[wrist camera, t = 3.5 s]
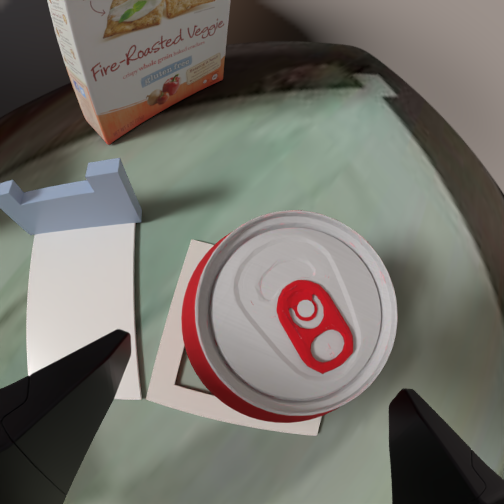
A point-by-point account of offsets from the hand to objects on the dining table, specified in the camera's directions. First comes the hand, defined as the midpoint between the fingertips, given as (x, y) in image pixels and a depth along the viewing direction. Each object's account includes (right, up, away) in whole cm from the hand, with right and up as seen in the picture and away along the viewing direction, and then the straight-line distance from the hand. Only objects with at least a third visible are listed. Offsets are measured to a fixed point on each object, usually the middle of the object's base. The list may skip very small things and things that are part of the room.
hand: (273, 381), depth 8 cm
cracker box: (-10, +19, +17) cm, 27 cm away
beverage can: (-1, -2, +10) cm, 10 cm away
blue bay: (-13, -1, +9) cm, 15 cm away
